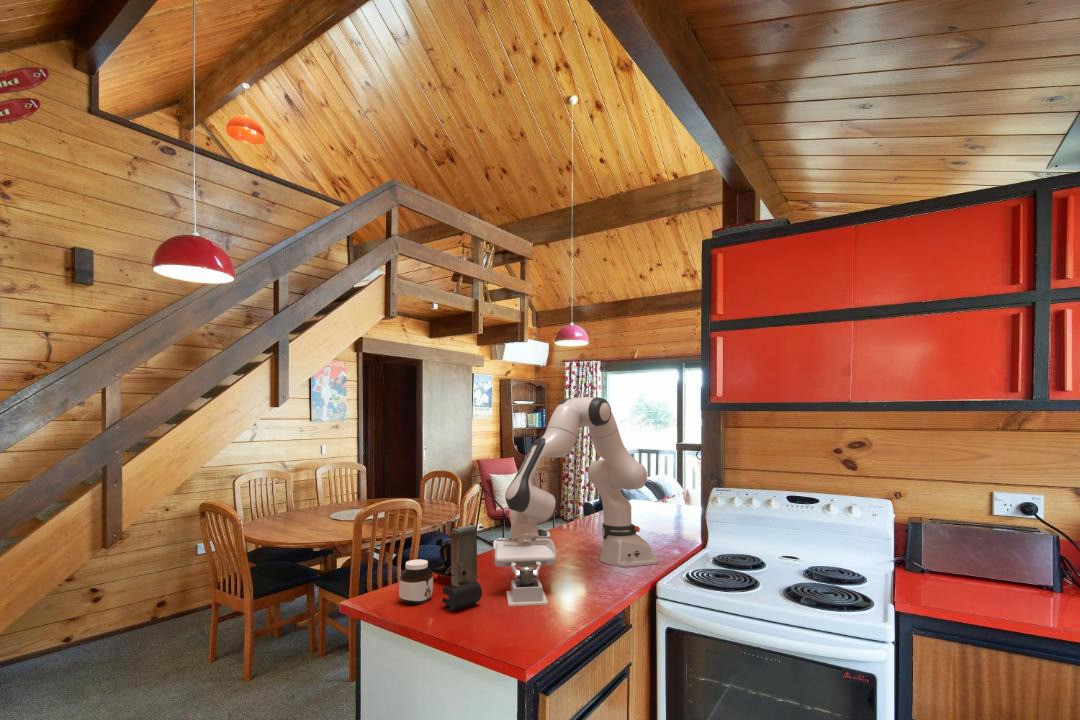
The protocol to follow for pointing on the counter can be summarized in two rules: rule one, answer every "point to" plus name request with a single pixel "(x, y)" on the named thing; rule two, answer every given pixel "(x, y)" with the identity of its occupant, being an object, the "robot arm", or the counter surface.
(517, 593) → the open square tray
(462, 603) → the end cap
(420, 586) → the spread jar
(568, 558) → the counter surface
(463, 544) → the vintage camera
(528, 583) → the brown cylinder
